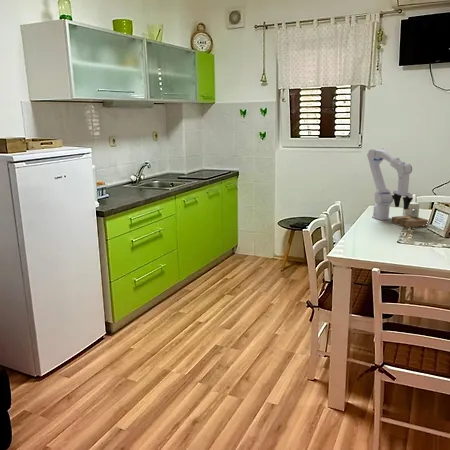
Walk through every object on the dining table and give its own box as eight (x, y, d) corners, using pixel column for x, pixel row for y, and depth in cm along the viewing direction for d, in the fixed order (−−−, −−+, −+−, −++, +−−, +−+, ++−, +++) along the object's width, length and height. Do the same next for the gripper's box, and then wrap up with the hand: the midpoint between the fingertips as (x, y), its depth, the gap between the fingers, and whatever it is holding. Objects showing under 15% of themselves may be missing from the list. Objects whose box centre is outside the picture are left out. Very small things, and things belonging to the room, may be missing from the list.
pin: (409, 222, 257) (410, 209, 255) (414, 222, 258) (415, 208, 256) (413, 223, 254) (414, 210, 252) (417, 223, 255) (418, 209, 253)
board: (391, 222, 260) (391, 216, 259) (410, 220, 264) (411, 214, 263) (407, 227, 247) (408, 221, 246) (427, 225, 251) (428, 219, 250)
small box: (415, 218, 270) (416, 202, 267) (418, 220, 264) (419, 203, 262) (401, 218, 270) (403, 201, 268) (404, 220, 265) (406, 203, 263)
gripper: (389, 183, 257) (387, 206, 260) (406, 187, 244) (404, 210, 247) (399, 183, 259) (397, 205, 262) (416, 186, 246) (414, 209, 249)
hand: (401, 208), depth 255 cm, fingers open, 7 cm apart
